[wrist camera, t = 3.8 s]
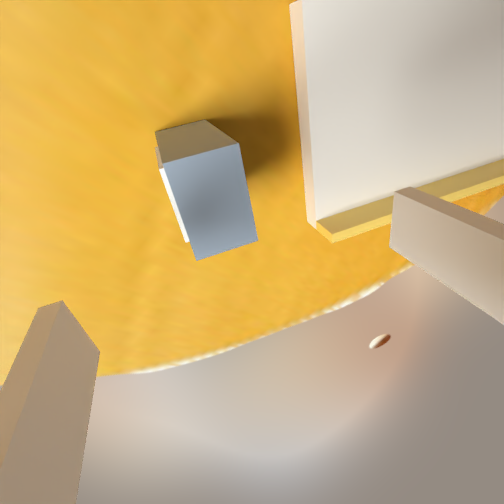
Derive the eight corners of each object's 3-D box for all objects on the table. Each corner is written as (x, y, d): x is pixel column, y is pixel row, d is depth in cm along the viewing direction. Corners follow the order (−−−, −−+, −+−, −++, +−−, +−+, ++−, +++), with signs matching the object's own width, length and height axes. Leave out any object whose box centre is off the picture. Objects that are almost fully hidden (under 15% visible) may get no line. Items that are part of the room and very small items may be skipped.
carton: (150, 132, 23) (156, 165, 14) (204, 119, 23) (238, 143, 15) (175, 203, 26) (191, 262, 18) (222, 189, 27) (258, 240, 18)
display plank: (307, 221, 31) (332, 243, 27) (289, 4, 21) (324, -13, 17) (489, 161, 35) (534, 172, 31) (546, -46, 25) (624, -70, 21)
